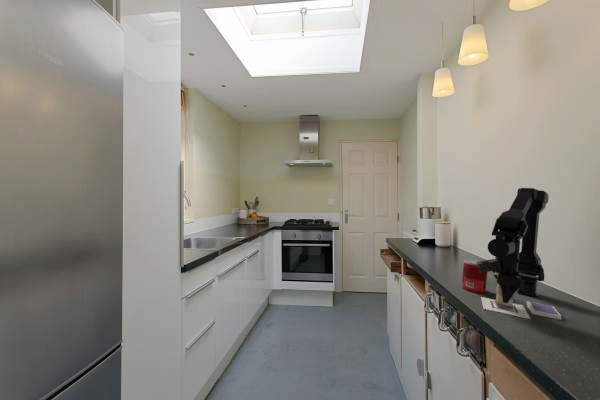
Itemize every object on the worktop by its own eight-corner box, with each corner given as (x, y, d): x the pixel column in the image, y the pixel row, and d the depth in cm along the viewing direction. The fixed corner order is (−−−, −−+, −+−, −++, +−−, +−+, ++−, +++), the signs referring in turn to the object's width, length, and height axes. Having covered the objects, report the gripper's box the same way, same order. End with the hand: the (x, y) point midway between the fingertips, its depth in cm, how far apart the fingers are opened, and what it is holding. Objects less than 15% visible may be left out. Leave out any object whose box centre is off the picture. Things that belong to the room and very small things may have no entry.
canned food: (489, 294, 108) (491, 265, 108) (465, 291, 110) (468, 263, 110) (480, 287, 116) (483, 260, 115) (459, 285, 117) (461, 258, 117)
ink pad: (526, 304, 100) (526, 300, 100) (552, 309, 96) (553, 305, 96) (532, 313, 92) (532, 309, 92) (561, 319, 89) (561, 315, 88)
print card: (481, 297, 104) (481, 296, 104) (522, 306, 98) (522, 304, 98) (483, 309, 94) (483, 308, 94) (530, 319, 88) (530, 317, 88)
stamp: (495, 301, 99) (496, 280, 99) (510, 304, 97) (512, 283, 96) (496, 305, 95) (498, 284, 95) (513, 309, 93) (514, 287, 93)
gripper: (477, 246, 107) (474, 287, 108) (481, 255, 91) (477, 304, 92) (514, 250, 102) (511, 294, 103) (525, 261, 86) (521, 313, 86)
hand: (504, 300), depth 96 cm, fingers closed on stamp, 4 cm apart
